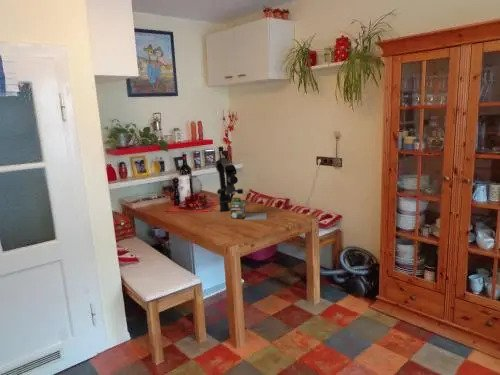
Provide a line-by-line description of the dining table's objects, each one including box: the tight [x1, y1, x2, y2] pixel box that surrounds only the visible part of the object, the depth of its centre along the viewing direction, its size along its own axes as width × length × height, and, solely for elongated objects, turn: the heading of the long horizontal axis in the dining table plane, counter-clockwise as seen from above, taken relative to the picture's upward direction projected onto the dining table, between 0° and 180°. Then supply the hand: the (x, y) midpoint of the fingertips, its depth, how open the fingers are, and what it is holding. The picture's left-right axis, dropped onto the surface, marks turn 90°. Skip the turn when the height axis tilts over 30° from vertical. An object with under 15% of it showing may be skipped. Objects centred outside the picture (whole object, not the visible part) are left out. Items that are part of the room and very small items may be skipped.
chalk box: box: [229, 197, 247, 219], centre depth 273 cm, size 9×9×15 cm
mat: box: [243, 212, 268, 221], centre depth 274 cm, size 16×16×1 cm
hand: (230, 202), depth 273 cm, fingers closed, pressing on chalk box
